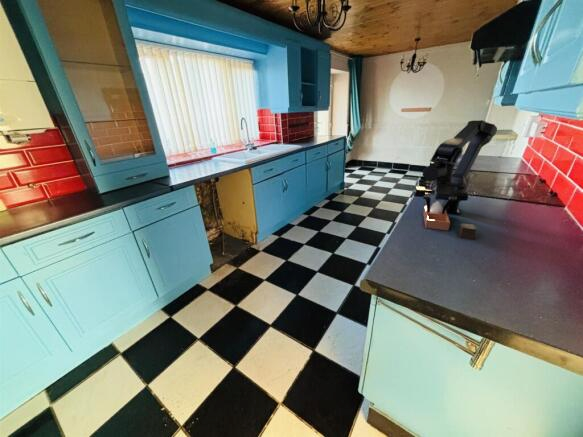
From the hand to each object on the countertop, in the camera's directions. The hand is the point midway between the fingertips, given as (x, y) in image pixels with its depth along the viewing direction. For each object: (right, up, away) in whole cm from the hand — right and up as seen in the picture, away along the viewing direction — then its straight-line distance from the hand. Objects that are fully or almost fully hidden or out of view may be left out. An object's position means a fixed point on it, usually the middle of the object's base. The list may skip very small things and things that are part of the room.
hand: (435, 212), depth 100 cm
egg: (0, -2, +1) cm, 2 cm away
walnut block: (+3, -9, -14) cm, 16 cm away
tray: (-1, -4, -2) cm, 4 cm away
